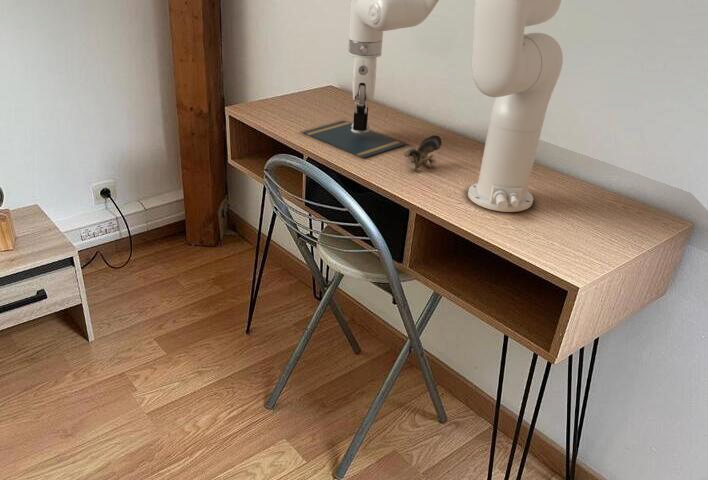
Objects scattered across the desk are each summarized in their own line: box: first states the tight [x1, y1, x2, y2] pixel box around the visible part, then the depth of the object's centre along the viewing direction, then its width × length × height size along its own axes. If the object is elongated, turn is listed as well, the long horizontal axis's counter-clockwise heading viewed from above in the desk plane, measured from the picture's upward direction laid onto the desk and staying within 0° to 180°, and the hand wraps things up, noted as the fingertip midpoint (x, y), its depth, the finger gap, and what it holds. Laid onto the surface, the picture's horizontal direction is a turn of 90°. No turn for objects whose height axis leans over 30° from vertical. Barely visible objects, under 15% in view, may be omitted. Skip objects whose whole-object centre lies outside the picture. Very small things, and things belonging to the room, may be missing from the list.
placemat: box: [302, 120, 406, 159], centre depth 155 cm, size 21×14×1 cm, turn 41°
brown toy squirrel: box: [403, 134, 443, 172], centre depth 141 cm, size 8×7×9 cm
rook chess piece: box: [351, 98, 370, 135], centre depth 153 cm, size 4×4×8 cm
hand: (360, 125), depth 154 cm, fingers closed on rook chess piece, 4 cm apart
